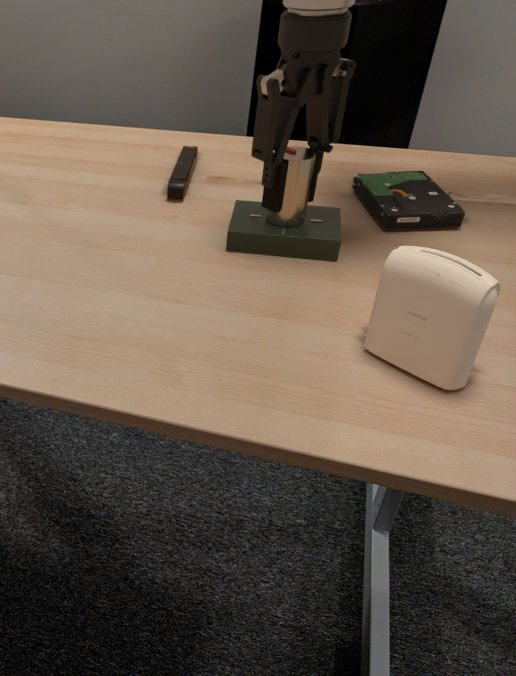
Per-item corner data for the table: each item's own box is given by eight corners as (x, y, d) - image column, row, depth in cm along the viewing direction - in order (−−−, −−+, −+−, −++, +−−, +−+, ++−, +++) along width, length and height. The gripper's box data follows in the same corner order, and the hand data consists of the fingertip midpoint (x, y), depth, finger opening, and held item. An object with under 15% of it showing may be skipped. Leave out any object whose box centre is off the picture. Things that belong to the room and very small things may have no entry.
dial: (313, 220, 86) (325, 152, 81) (284, 230, 85) (294, 161, 79) (286, 207, 90) (296, 141, 84) (258, 216, 88) (266, 149, 83)
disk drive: (462, 231, 88) (418, 186, 100) (468, 212, 86) (423, 168, 98) (383, 233, 89) (349, 188, 101) (388, 215, 87) (352, 171, 99)
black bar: (183, 203, 100) (183, 184, 98) (166, 202, 101) (166, 183, 99) (197, 160, 114) (199, 143, 112) (183, 159, 115) (183, 143, 113)
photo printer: (354, 348, 69) (381, 243, 61) (379, 333, 70) (408, 229, 63) (450, 398, 62) (492, 287, 54) (474, 380, 63) (518, 270, 56)
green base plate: (336, 227, 91) (340, 206, 89) (337, 261, 83) (341, 239, 81) (233, 218, 95) (236, 198, 93) (225, 251, 87) (227, 229, 85)
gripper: (349, -6, 78) (316, 178, 92) (230, 16, 72) (214, 210, 86) (402, 1, 73) (359, 196, 86) (278, 25, 66) (253, 232, 80)
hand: (287, 203), depth 86 cm, fingers closed on dial, 5 cm apart
